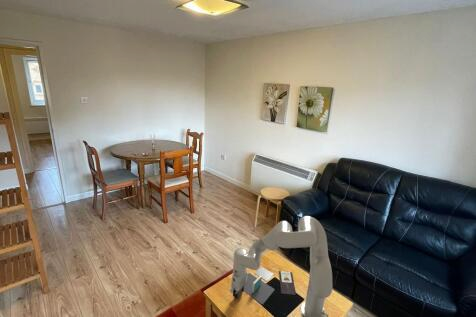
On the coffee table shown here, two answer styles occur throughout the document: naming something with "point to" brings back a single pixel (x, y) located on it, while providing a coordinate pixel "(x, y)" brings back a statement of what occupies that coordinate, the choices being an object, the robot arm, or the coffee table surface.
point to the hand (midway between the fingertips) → (238, 293)
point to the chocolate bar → (287, 283)
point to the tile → (256, 284)
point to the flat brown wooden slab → (239, 293)
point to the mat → (261, 292)
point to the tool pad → (264, 273)
